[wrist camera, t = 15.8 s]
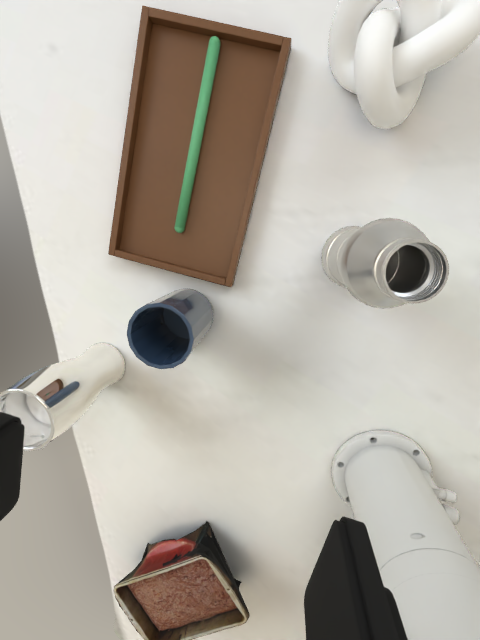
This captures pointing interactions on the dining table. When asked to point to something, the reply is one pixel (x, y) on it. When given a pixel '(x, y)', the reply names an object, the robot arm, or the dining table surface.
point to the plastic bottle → (385, 263)
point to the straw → (197, 132)
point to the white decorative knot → (396, 50)
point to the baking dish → (182, 590)
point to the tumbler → (170, 328)
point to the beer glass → (61, 393)
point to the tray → (175, 135)
